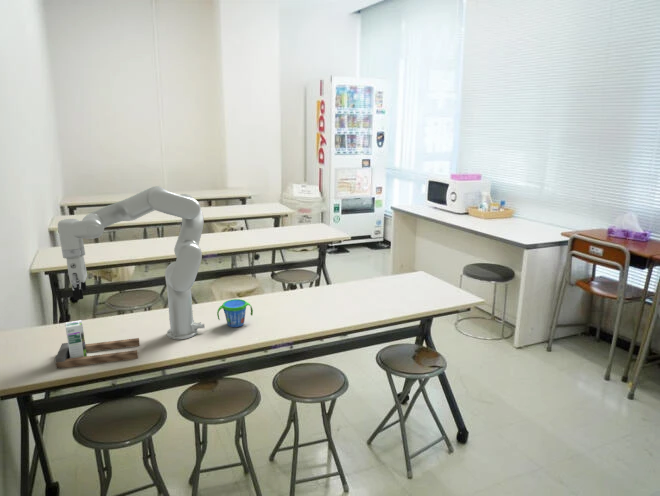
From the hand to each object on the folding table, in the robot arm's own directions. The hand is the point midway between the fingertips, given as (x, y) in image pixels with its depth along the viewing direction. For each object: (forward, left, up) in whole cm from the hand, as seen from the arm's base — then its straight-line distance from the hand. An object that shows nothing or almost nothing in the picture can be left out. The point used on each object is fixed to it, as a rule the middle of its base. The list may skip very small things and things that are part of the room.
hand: (80, 294), depth 188 cm
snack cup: (-59, -9, -24) cm, 64 cm away
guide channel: (-5, +6, -24) cm, 25 cm away
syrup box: (+3, +6, -24) cm, 25 cm away
